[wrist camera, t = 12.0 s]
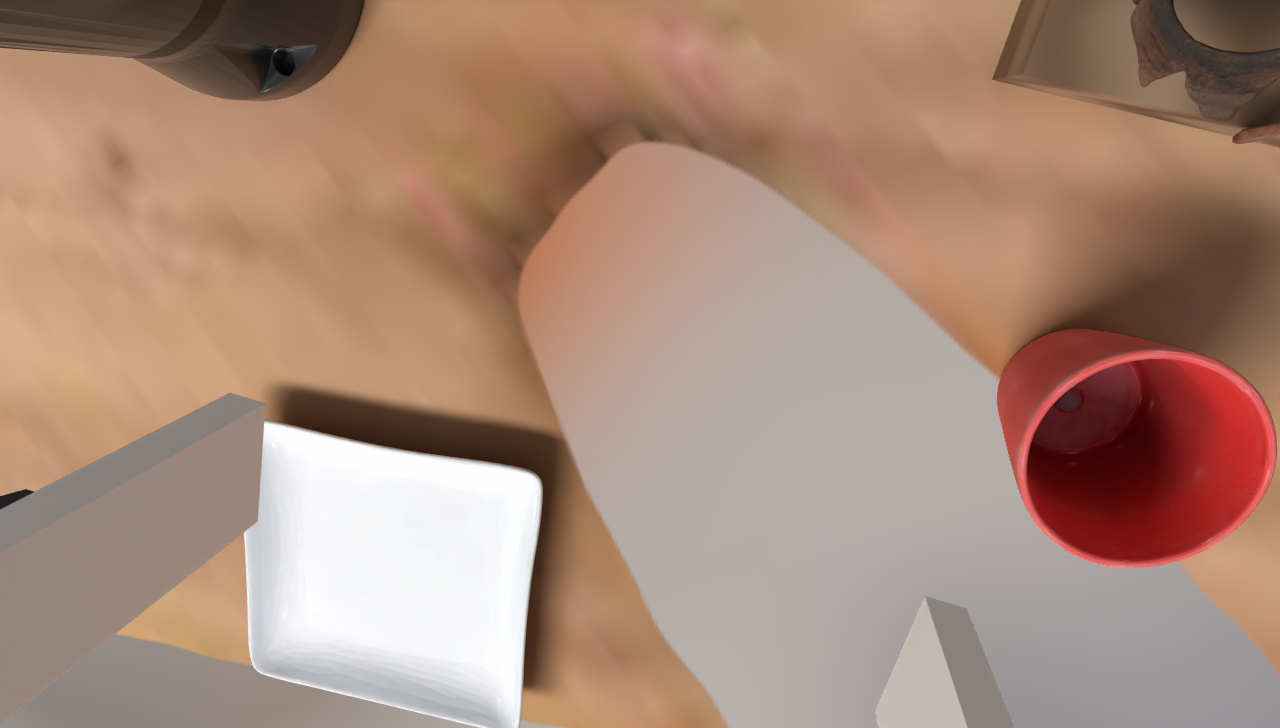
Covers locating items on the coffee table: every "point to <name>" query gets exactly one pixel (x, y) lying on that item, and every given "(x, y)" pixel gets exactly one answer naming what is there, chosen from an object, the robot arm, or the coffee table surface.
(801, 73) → the coffee table surface
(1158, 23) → the pottery mug
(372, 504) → the salad plate
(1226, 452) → the flower pot
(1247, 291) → the coffee table surface
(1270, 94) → the walnut block
